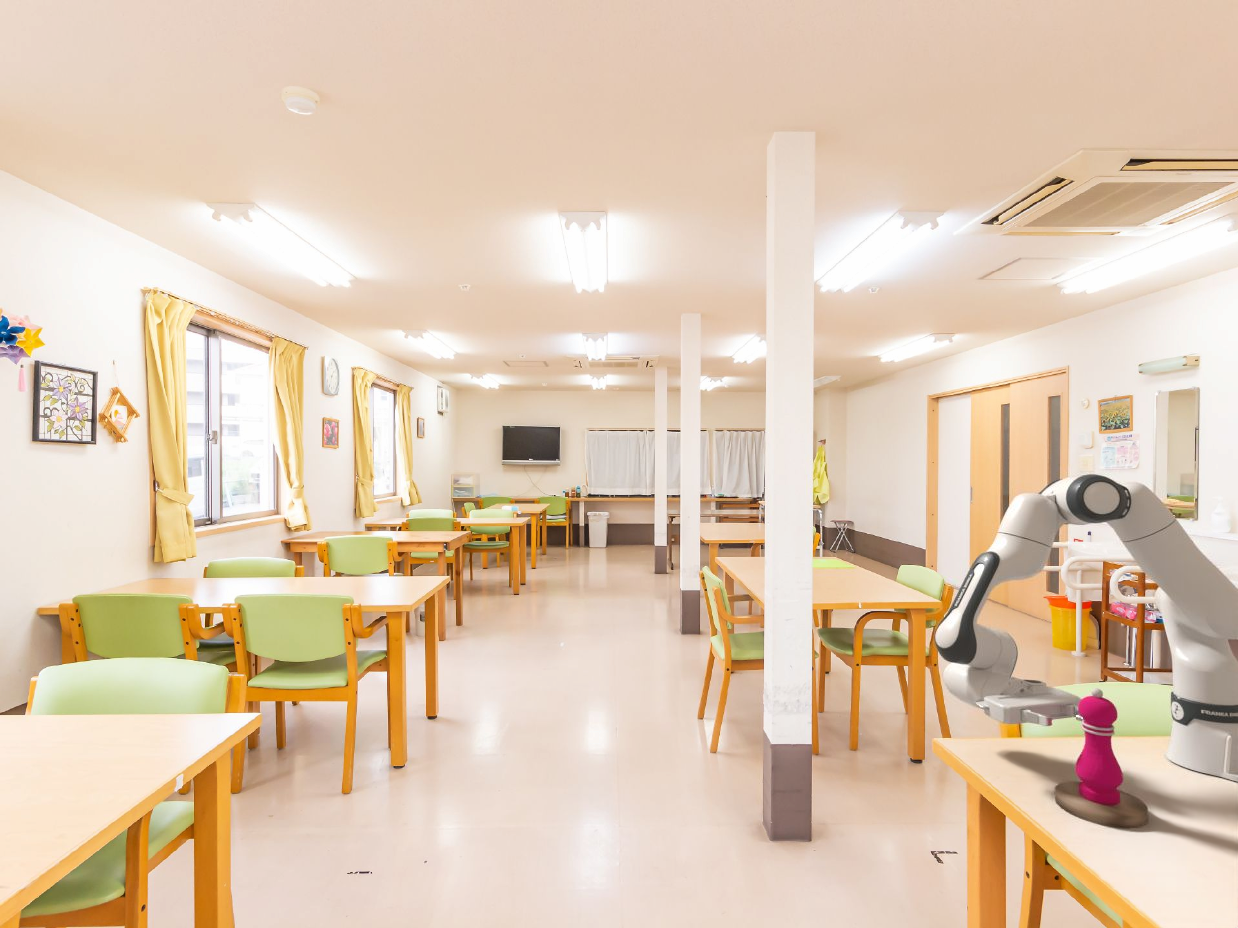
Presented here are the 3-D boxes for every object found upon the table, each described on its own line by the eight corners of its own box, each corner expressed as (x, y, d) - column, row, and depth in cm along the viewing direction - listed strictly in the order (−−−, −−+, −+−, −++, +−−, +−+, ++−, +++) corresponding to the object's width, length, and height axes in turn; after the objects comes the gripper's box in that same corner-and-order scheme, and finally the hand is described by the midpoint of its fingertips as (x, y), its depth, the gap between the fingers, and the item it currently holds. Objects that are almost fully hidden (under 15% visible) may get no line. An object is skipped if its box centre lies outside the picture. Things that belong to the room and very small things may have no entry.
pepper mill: (1081, 785, 131) (1078, 680, 131) (1127, 797, 125) (1124, 688, 126) (1071, 797, 126) (1069, 688, 126) (1119, 810, 120) (1116, 696, 121)
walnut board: (1117, 793, 132) (1117, 783, 132) (1167, 829, 118) (1167, 818, 118) (1040, 789, 133) (1040, 779, 133) (1081, 825, 119) (1081, 813, 119)
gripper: (969, 687, 142) (1025, 707, 129) (1046, 679, 148) (1107, 699, 134) (969, 717, 142) (1025, 741, 129) (1046, 709, 148) (1108, 731, 134)
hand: (1068, 719), depth 132 cm, fingers open, 8 cm apart
